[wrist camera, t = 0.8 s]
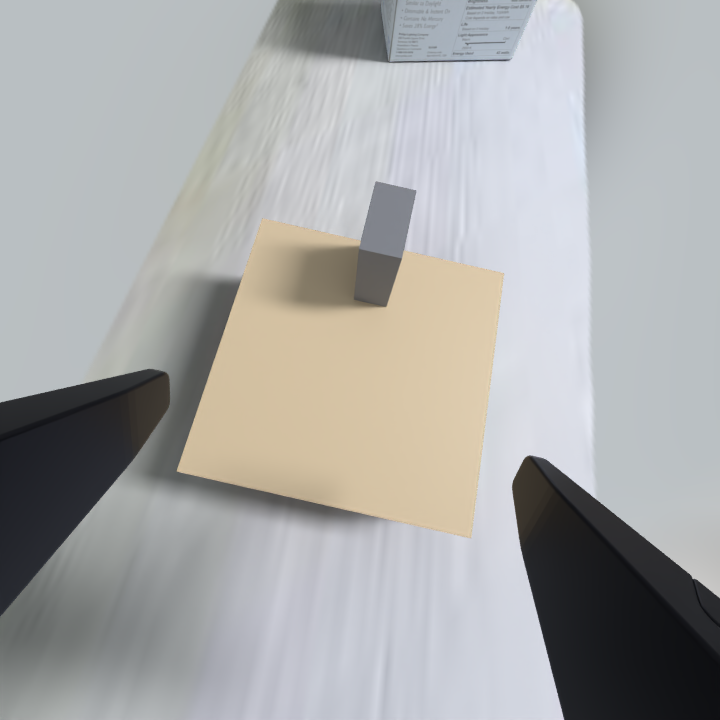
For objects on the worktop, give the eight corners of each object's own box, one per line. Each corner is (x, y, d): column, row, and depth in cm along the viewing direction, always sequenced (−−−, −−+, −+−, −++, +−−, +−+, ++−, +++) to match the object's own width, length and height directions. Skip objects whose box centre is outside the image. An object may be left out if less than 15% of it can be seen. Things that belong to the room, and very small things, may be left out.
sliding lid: (466, 535, 16) (524, 569, 11) (182, 470, 16) (113, 476, 11) (498, 279, 19) (554, 217, 14) (264, 225, 19) (239, 145, 14)
